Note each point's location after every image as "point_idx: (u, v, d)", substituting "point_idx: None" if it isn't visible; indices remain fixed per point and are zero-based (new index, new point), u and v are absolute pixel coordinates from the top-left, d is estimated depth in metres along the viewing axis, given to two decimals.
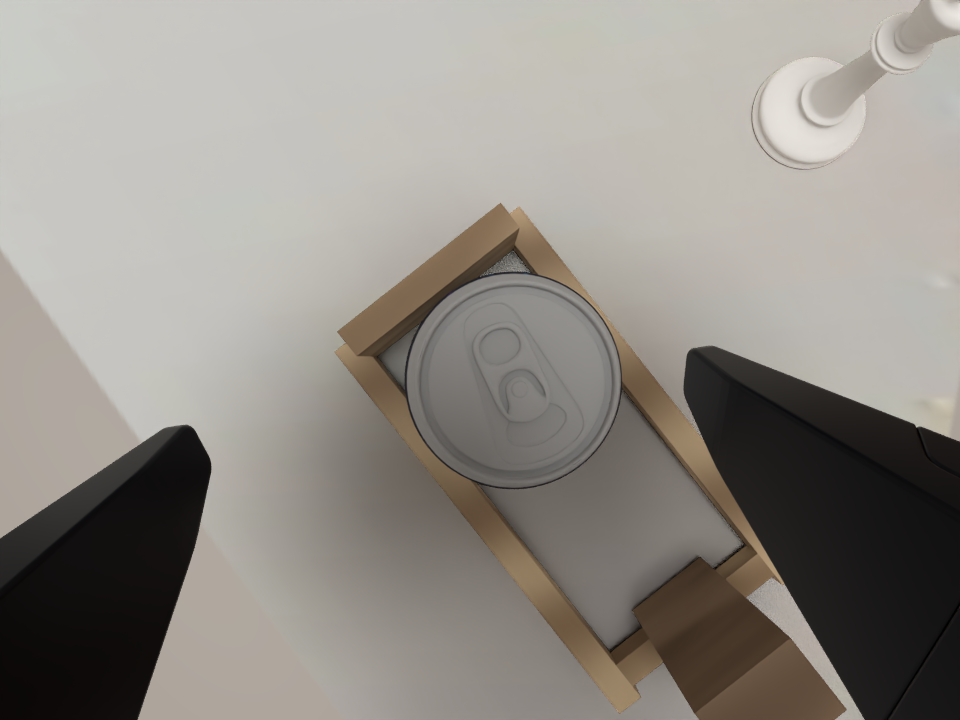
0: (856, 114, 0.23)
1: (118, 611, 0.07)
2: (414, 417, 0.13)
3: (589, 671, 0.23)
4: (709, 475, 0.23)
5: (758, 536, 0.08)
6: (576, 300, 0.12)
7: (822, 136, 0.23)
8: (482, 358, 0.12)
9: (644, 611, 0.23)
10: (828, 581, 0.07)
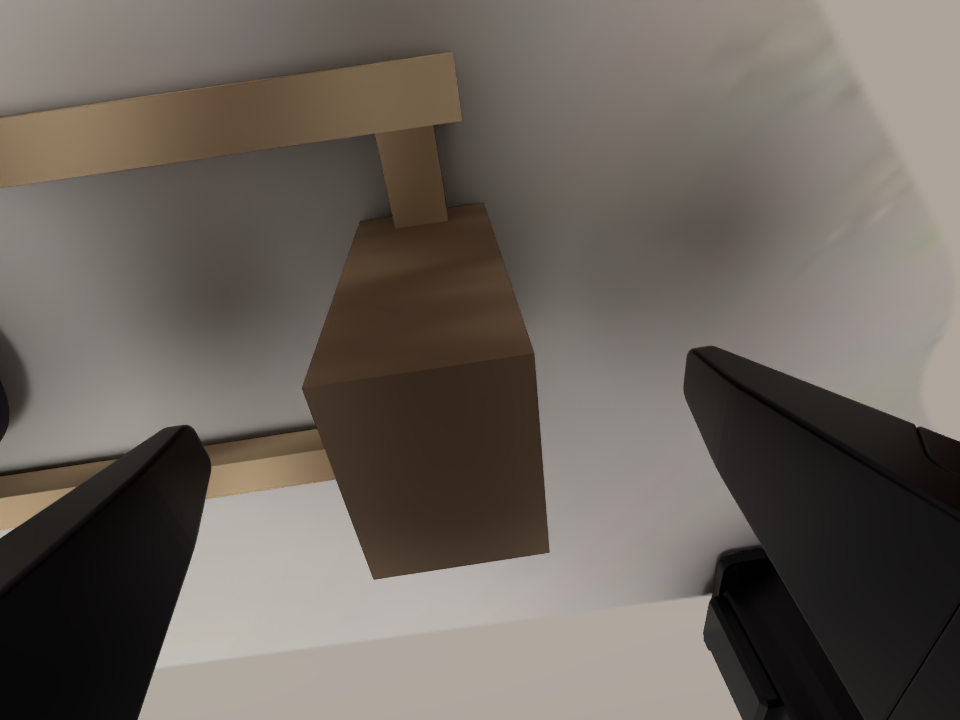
0: None
1: (118, 611, 0.07)
2: None
3: None
4: (169, 138, 0.10)
5: (758, 536, 0.08)
6: None
7: None
8: None
9: None
10: (828, 581, 0.07)
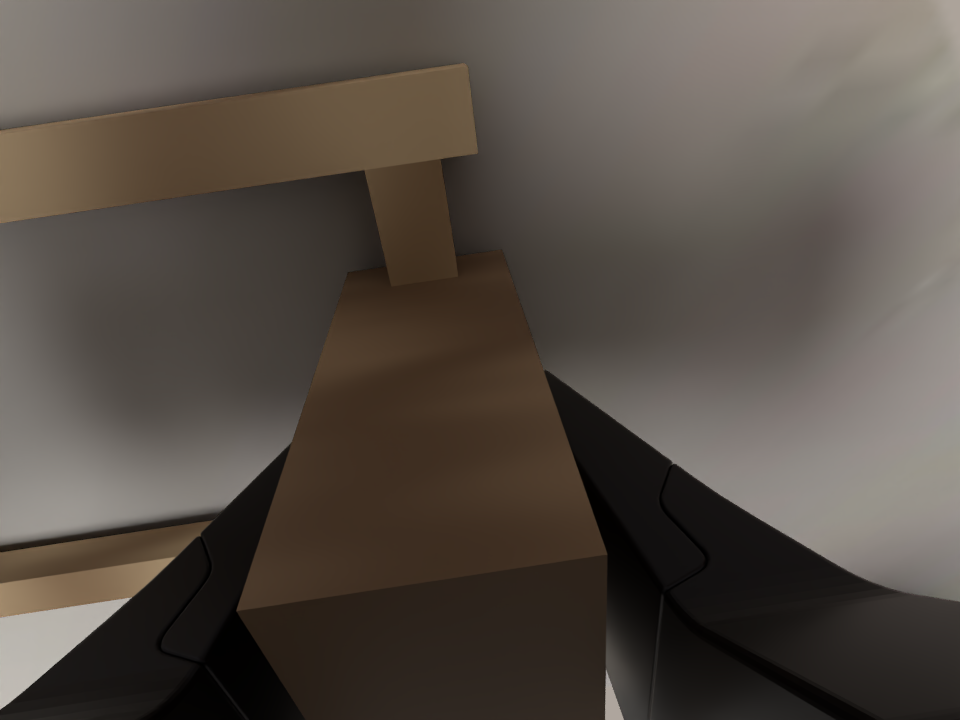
0: None
1: None
2: None
3: None
4: (93, 177, 0.08)
5: None
6: None
7: None
8: None
9: None
10: None
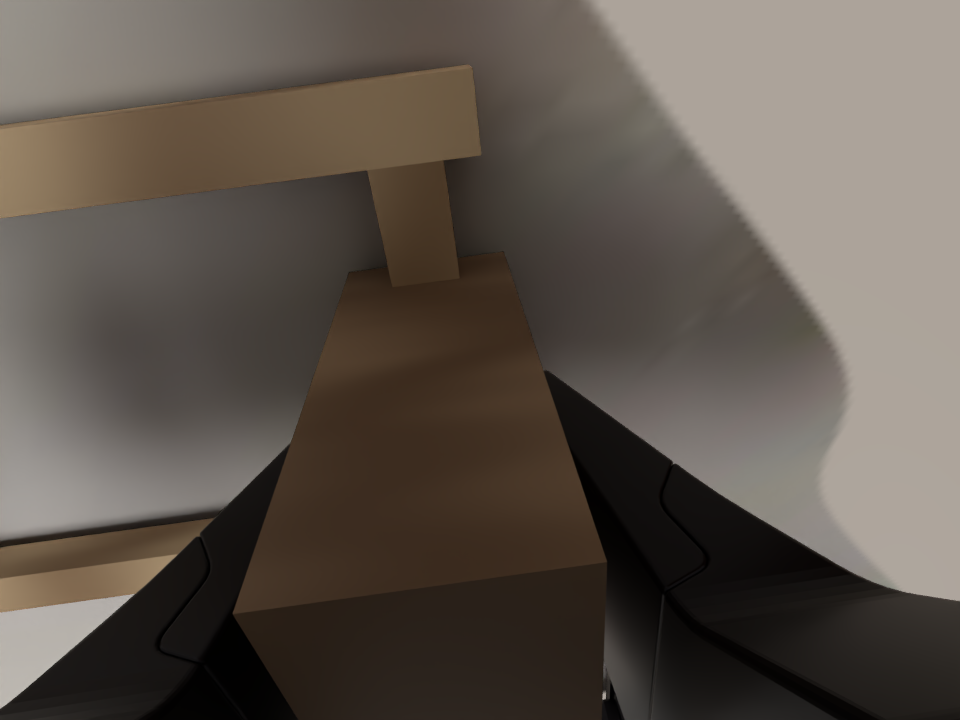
0: None
1: None
2: None
3: None
4: (94, 174, 0.08)
5: None
6: None
7: None
8: None
9: None
10: None
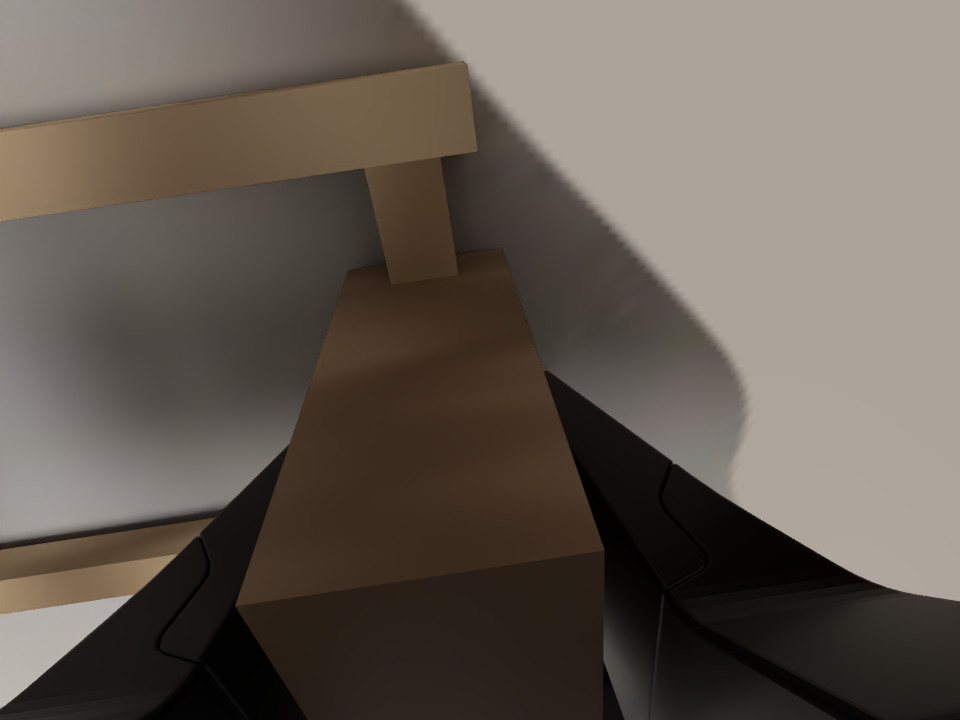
0: None
1: None
2: None
3: None
4: (93, 176, 0.08)
5: None
6: None
7: None
8: None
9: None
10: None
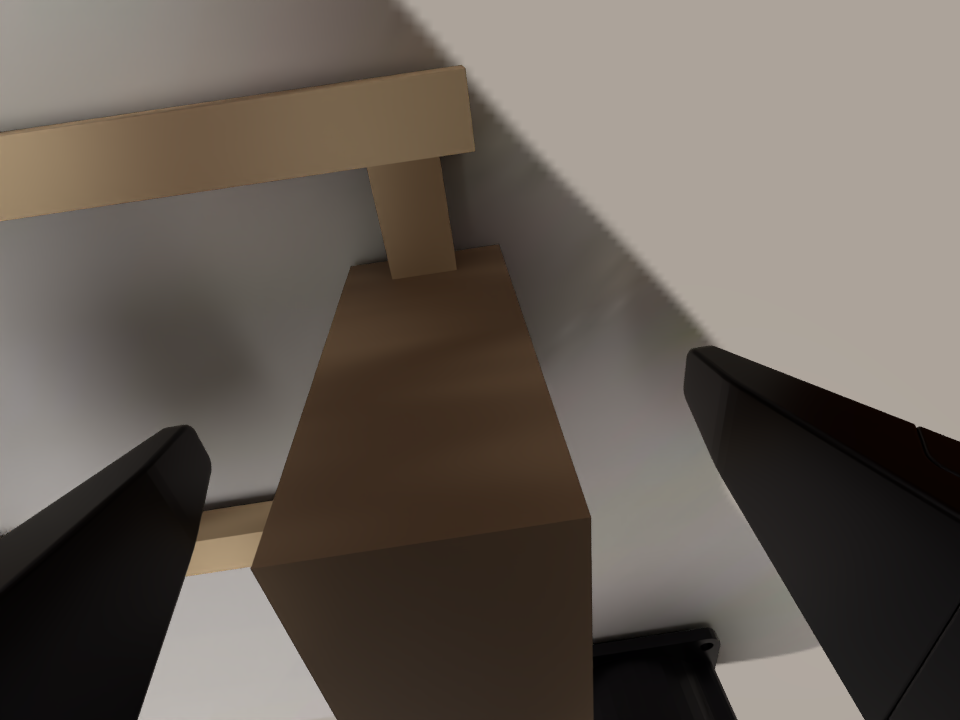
0: None
1: (118, 611, 0.07)
2: None
3: None
4: (108, 174, 0.08)
5: (758, 536, 0.08)
6: None
7: None
8: None
9: None
10: (828, 581, 0.07)
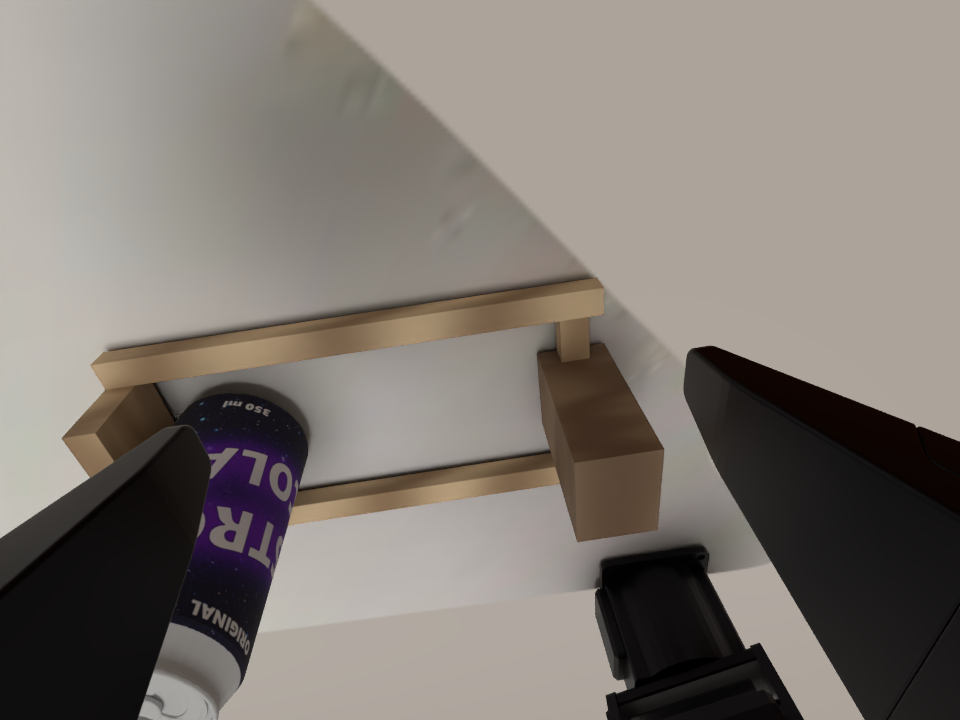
0: None
1: (118, 611, 0.07)
2: None
3: (557, 482, 0.26)
4: (460, 326, 0.21)
5: (758, 536, 0.08)
6: None
7: None
8: None
9: (544, 424, 0.24)
10: (828, 581, 0.07)
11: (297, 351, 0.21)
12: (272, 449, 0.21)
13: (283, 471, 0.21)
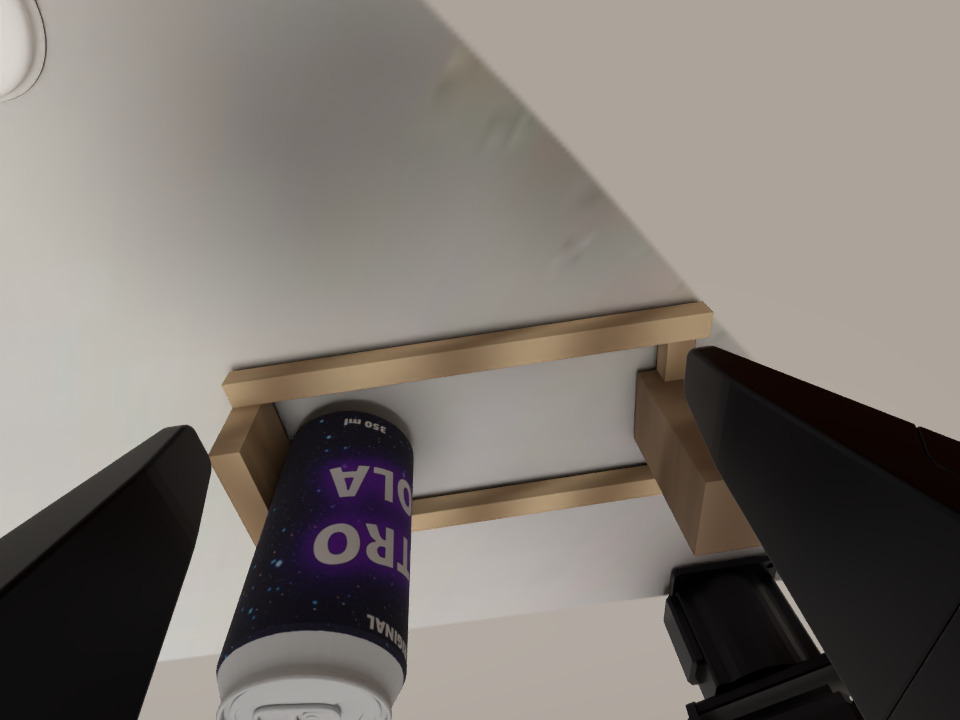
0: None
1: (118, 611, 0.07)
2: None
3: (645, 495, 0.27)
4: (574, 348, 0.22)
5: (758, 536, 0.08)
6: (255, 687, 0.14)
7: None
8: None
9: (639, 440, 0.25)
10: (828, 581, 0.07)
11: (418, 371, 0.22)
12: (395, 466, 0.22)
13: (405, 487, 0.22)
